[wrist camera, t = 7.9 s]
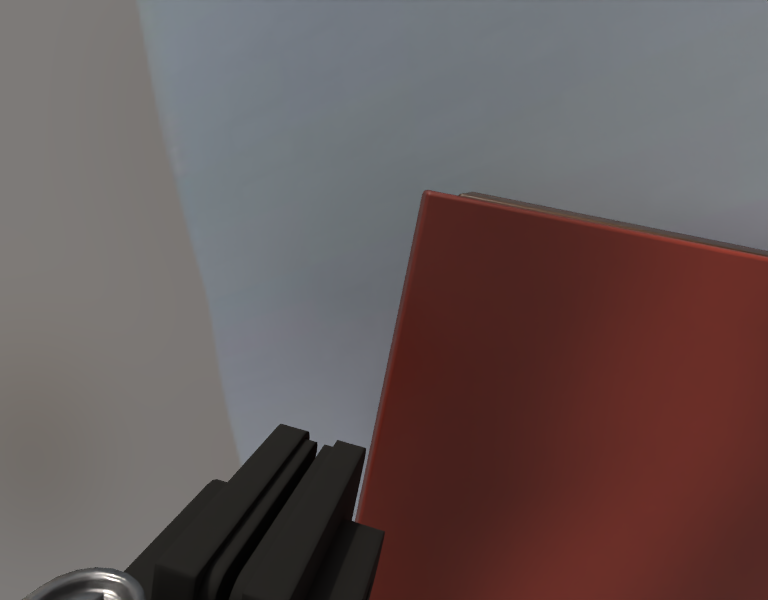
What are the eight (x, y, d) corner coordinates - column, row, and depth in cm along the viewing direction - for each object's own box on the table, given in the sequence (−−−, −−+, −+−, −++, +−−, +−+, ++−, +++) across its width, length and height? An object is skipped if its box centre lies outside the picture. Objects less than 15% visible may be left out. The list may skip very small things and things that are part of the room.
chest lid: (318, 693, 14) (316, 725, 13) (423, 188, 11) (426, 190, 10) (921, 774, 15) (952, 809, 14) (1165, 335, 12) (1221, 347, 11)
